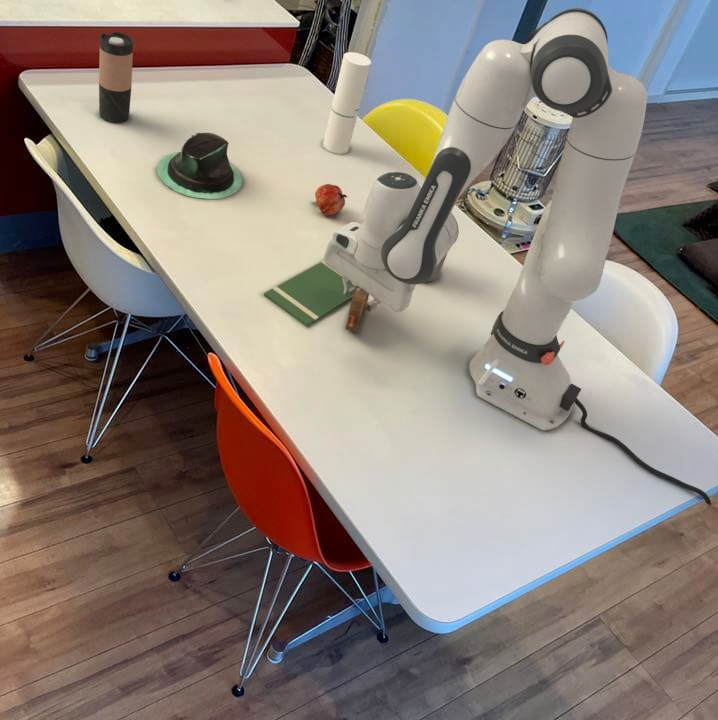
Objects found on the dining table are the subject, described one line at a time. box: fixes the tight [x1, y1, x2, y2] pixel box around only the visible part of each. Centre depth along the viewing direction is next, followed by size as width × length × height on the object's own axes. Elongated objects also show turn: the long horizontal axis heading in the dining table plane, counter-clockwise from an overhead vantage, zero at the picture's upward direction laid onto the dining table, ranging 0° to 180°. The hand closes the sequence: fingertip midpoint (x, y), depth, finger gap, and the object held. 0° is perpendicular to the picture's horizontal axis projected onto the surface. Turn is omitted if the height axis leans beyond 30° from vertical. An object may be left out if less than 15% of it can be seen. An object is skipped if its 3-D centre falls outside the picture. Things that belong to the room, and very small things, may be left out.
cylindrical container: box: [322, 51, 372, 155], centre depth 205 cm, size 7×7×25 cm
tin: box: [345, 286, 370, 333], centre depth 160 cm, size 15×3×8 cm, turn 168°
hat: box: [156, 132, 243, 200], centre depth 186 cm, size 15×19×20 cm
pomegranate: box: [312, 183, 348, 216], centre depth 187 cm, size 7×7×10 cm
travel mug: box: [98, 31, 134, 124], centre depth 190 cm, size 8×8×20 cm
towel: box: [263, 259, 357, 327], centre depth 166 cm, size 12×22×1 cm, turn 142°
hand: (359, 302), depth 160 cm, fingers open, 5 cm apart
